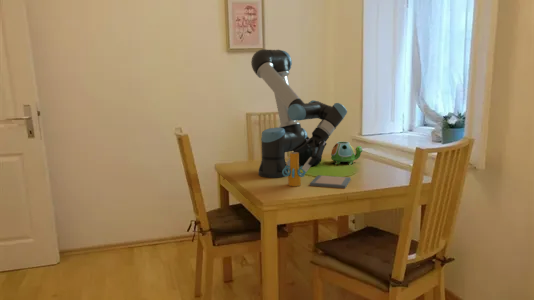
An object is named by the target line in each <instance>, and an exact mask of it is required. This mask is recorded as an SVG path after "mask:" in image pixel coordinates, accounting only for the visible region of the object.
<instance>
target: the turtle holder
mask: <svg viewBox="0 0 534 300" xmlns="http://www.w3.org/2000/svg"><path fill="white" fill-rule="evenodd" d="M362 152H363V148H362V146H361V145H358V146H356V147H355V148H354V146H352V145H351V143H350V142H349V141H337V142H336V143H335V145H333V147H332V149H331V154H330V155H331V158H330V159H331V160H332V162H335V163H334V164H335V165H336V164H338V165H340V164H341V163H342V162H343V163H344V162H345V163H346V162H348V165H349V164H351V165H353V162H354V161H357V160H359V158H360V156H361V154H362Z"/></svg>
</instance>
